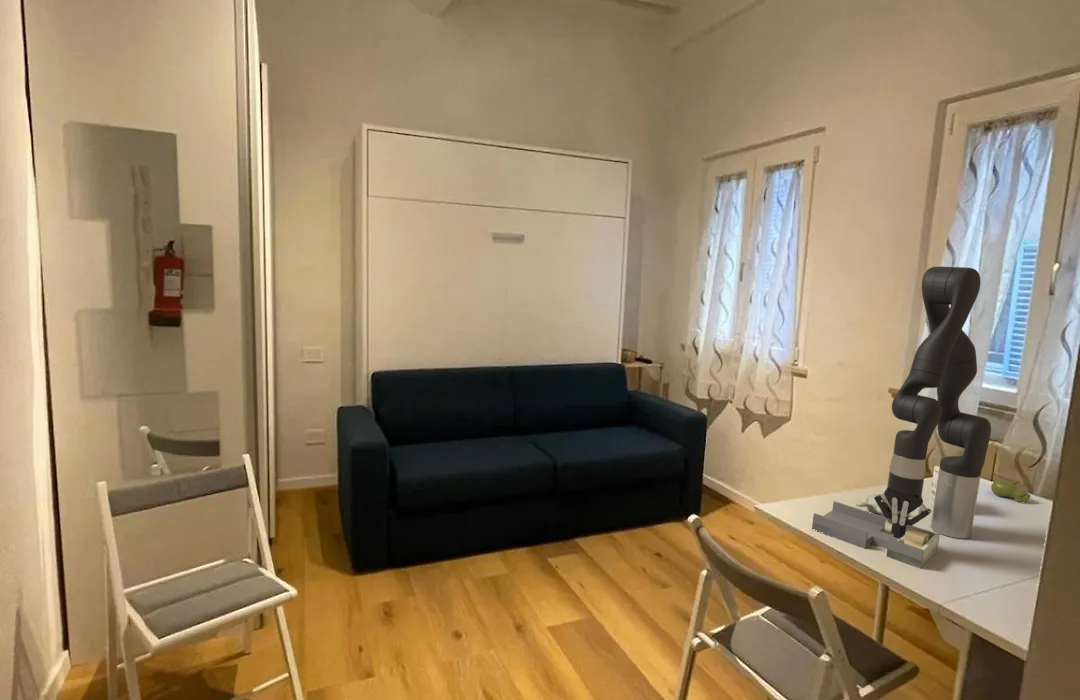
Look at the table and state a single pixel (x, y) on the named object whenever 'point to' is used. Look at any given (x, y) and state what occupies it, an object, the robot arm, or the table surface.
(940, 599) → the table surface
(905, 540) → the birch block
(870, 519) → the trap box
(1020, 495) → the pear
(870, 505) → the bunny figurine
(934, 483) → the ink box
